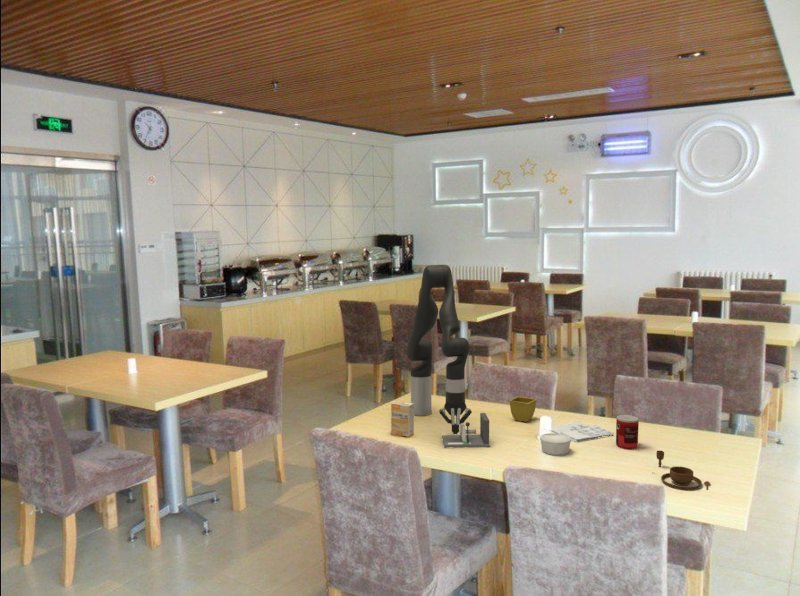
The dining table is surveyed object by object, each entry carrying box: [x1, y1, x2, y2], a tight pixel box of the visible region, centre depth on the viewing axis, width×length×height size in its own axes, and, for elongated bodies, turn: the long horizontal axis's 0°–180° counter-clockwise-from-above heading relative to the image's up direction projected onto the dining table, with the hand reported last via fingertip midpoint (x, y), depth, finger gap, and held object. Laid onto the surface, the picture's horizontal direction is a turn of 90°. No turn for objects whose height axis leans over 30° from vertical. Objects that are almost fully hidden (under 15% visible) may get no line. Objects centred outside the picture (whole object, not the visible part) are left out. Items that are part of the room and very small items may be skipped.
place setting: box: [652, 450, 711, 491], centre depth 211 cm, size 18×20×6 cm
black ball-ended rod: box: [465, 421, 471, 443], centre depth 244 cm, size 2×2×8 cm
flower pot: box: [509, 396, 537, 423], centre depth 277 cm, size 9×9×9 cm
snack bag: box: [551, 421, 614, 443], centre depth 261 cm, size 19×20×2 cm
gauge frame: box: [441, 412, 491, 448], centre depth 249 cm, size 12×17×10 cm
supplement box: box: [390, 400, 415, 438], centre depth 259 cm, size 8×5×13 cm, turn 62°
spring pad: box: [459, 422, 477, 442], centre depth 249 cm, size 10×6×5 cm, turn 1°
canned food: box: [615, 414, 640, 450], centre depth 243 cm, size 8×8×11 cm
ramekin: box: [539, 432, 572, 456], centre depth 239 cm, size 11×11×5 cm
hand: (455, 433), depth 249 cm, fingers closed
